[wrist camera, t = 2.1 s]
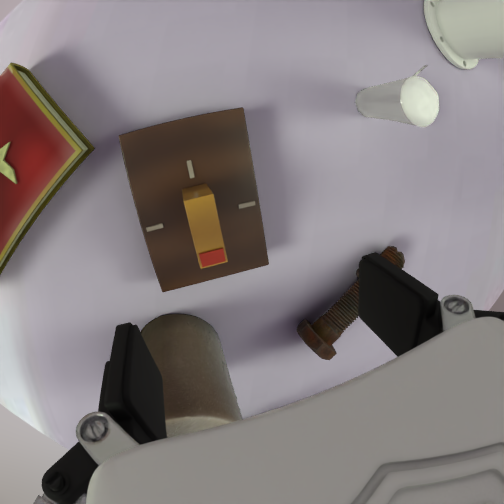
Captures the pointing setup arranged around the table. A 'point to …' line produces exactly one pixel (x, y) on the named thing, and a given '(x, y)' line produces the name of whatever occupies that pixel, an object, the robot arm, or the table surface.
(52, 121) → the hardcover book
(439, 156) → the table surface
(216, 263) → the thumbturn
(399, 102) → the milkshake
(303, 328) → the bolt
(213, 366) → the pillar candle
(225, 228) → the lock plate
